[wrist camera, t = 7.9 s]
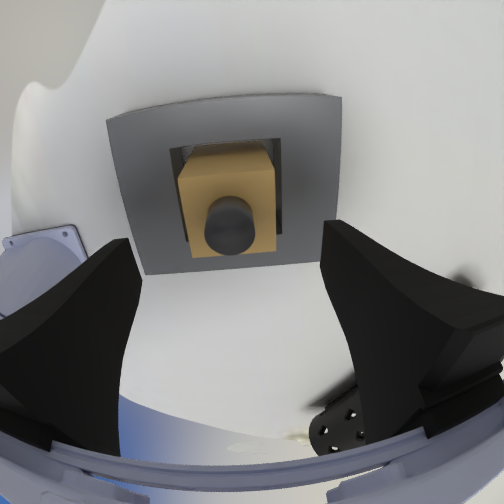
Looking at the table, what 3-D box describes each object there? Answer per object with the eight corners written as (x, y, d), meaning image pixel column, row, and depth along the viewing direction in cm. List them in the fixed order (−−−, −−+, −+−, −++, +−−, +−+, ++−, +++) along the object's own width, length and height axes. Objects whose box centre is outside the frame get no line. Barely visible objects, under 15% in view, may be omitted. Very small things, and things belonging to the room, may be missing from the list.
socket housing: (155, 249, 20) (145, 275, 17) (125, 112, 14) (105, 119, 12) (319, 235, 20) (331, 260, 18) (324, 94, 15) (341, 97, 12)
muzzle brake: (301, 404, 36) (311, 468, 28) (453, 264, 23) (508, 338, 15) (346, 408, 39) (360, 462, 31) (481, 289, 26) (523, 349, 18)
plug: (203, 205, 18) (188, 277, 12) (195, 146, 16) (170, 192, 10) (263, 199, 18) (280, 270, 12) (261, 140, 16) (280, 182, 10)
